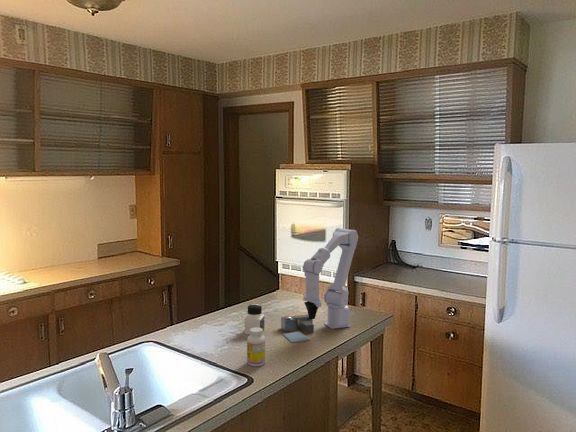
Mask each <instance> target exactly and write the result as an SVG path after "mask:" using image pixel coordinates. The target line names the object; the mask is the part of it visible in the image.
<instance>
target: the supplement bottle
mask: <svg viewBox="0 0 576 432" xmlns="http://www.w3.org/2000/svg"><path fill="white" fill-rule="evenodd" d="M263 333H264V331H263V329H262V328H258V327H255V328H251V329H250V335H248V336H247V338H246V339H247V340H246V343H247V344H246V345H247V346H246V359H247V360H246V363H247V364H248V365H249V366H251V367H262V366H264V364H265V363H266V337H265V335H264V334H263Z"/></svg>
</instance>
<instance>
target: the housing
mask: <svg viewBox="0 0 576 432" xmlns="http://www.w3.org/2000/svg"><path fill="white" fill-rule="evenodd" d="M296 315H297V316H295V315H285V316H282V317H280V318H281V319H280V328H281V330H283V332H285V333H286V332H296V330H299V326H298V319H305V318H307V319H308V320H309V321H310V322H311V323H312V324H313V325H314V322H313V321H314V319H309V316H308V313H307V314H303V315H299V314H296Z"/></svg>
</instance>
